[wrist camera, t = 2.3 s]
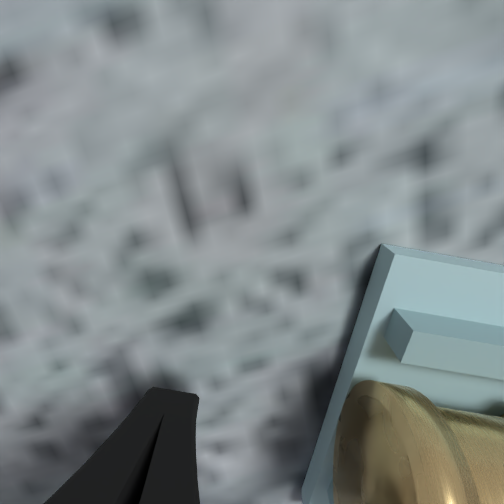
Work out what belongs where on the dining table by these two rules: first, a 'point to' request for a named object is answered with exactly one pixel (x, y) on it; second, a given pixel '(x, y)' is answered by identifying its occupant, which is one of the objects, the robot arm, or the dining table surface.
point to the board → (421, 342)
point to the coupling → (414, 450)
